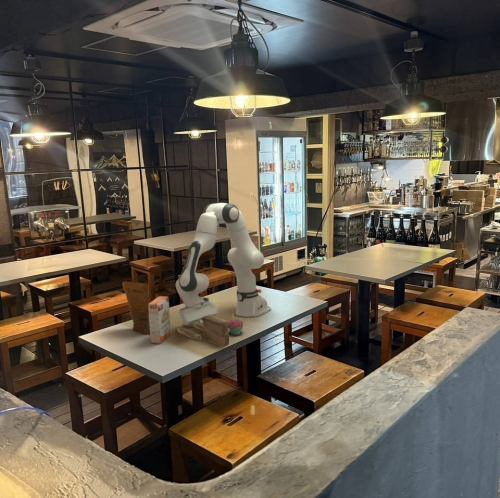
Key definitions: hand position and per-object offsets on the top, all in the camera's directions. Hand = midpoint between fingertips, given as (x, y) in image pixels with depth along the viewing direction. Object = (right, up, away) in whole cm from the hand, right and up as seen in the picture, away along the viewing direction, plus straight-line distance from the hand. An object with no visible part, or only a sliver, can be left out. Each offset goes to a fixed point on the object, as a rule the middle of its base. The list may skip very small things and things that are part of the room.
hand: (206, 326), depth 234 cm
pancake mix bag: (-37, -5, +13) cm, 39 cm away
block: (+5, -7, -4) cm, 10 cm away
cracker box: (-24, -7, +2) cm, 25 cm away
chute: (-6, -5, +8) cm, 11 cm away
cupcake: (+15, -4, +6) cm, 17 cm away
